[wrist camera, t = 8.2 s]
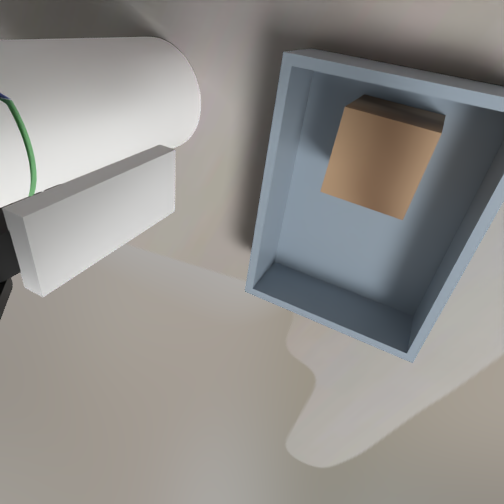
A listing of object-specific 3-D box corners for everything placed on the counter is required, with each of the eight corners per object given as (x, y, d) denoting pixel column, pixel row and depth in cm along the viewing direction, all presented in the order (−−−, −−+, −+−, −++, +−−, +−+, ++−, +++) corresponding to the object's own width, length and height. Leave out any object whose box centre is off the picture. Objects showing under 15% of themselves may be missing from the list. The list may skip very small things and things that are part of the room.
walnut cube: (341, 168, 27) (320, 191, 23) (364, 94, 24) (344, 106, 20) (412, 191, 25) (402, 220, 21) (445, 115, 23) (441, 133, 19)
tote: (312, 48, 25) (283, 51, 21) (538, 93, 21) (555, 108, 17) (269, 261, 34) (244, 291, 30) (419, 320, 30) (412, 363, 26)
